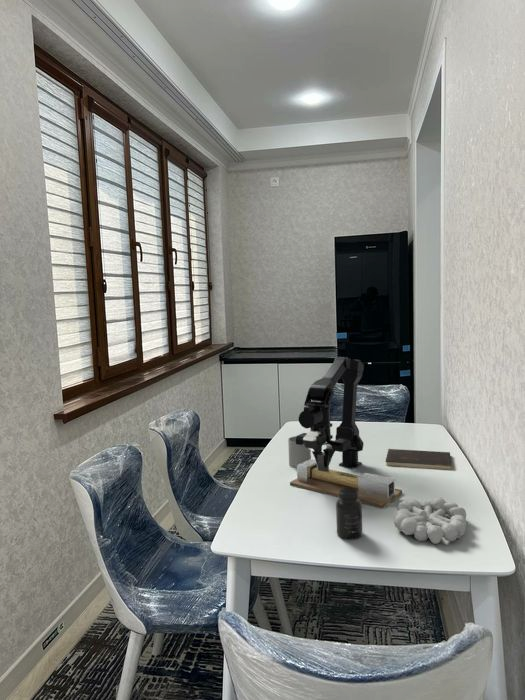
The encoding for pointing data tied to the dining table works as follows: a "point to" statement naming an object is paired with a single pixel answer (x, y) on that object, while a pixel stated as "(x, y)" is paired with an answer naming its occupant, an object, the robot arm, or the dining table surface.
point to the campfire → (431, 520)
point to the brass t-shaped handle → (332, 473)
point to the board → (334, 488)
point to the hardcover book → (418, 459)
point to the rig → (366, 482)
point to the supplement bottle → (349, 514)
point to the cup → (297, 453)
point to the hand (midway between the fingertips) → (323, 466)
